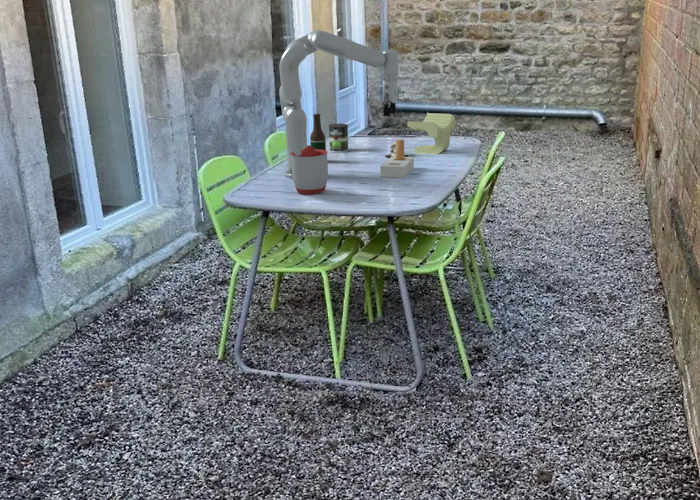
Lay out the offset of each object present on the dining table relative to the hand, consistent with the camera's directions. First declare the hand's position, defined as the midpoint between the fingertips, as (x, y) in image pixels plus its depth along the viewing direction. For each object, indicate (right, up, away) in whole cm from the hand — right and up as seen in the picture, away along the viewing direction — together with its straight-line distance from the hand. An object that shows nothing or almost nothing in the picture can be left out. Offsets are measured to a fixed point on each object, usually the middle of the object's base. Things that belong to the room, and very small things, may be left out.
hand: (389, 114), depth 340 cm
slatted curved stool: (+25, -11, +43) cm, 51 cm away
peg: (+5, -25, +3) cm, 26 cm away
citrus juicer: (-36, -39, -32) cm, 62 cm away
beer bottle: (-34, -19, +27) cm, 48 cm away
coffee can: (-24, -10, +53) cm, 59 cm away
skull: (+5, -16, +34) cm, 37 cm away
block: (+4, -27, -2) cm, 28 cm away
